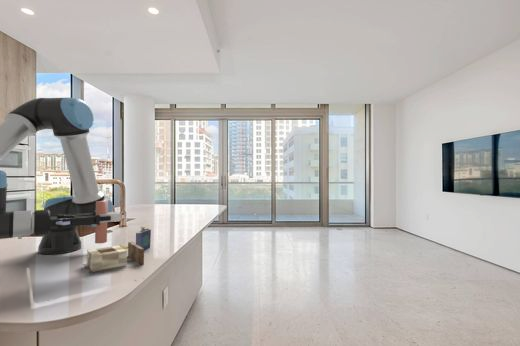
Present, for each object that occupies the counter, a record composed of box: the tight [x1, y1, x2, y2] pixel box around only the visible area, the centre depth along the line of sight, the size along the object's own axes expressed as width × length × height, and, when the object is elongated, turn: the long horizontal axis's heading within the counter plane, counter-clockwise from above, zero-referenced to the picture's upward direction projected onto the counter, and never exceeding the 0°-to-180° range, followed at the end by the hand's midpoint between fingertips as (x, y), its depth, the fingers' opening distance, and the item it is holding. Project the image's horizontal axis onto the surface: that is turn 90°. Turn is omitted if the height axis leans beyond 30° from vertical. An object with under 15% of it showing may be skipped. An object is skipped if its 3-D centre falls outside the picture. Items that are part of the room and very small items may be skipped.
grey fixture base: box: [82, 241, 145, 276], centre depth 95 cm, size 14×16×6 cm
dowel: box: [94, 201, 108, 245], centre depth 92 cm, size 4×4×14 cm
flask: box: [135, 226, 152, 251], centre depth 115 cm, size 9×3×11 cm, turn 172°
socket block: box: [86, 245, 128, 272], centre depth 93 cm, size 10×10×5 cm
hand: (118, 216), depth 95 cm, fingers closed on dowel, 3 cm apart
